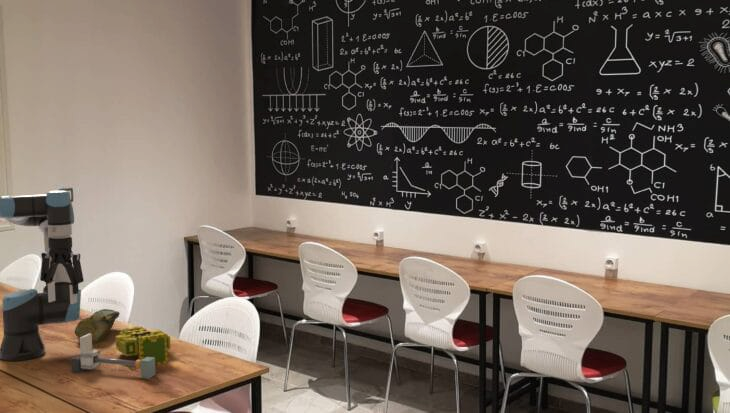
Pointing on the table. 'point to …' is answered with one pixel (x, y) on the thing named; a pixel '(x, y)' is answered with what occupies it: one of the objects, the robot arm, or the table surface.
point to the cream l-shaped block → (88, 352)
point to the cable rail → (145, 364)
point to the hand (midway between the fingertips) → (62, 302)
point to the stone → (97, 324)
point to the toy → (144, 343)
